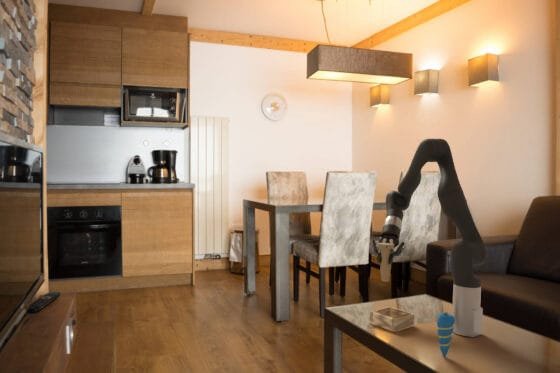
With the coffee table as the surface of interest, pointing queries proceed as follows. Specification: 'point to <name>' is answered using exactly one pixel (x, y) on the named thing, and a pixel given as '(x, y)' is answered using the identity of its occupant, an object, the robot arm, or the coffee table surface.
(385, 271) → the handle
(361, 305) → the coffee table surface
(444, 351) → the ornament
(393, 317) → the socket block
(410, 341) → the coffee table surface
